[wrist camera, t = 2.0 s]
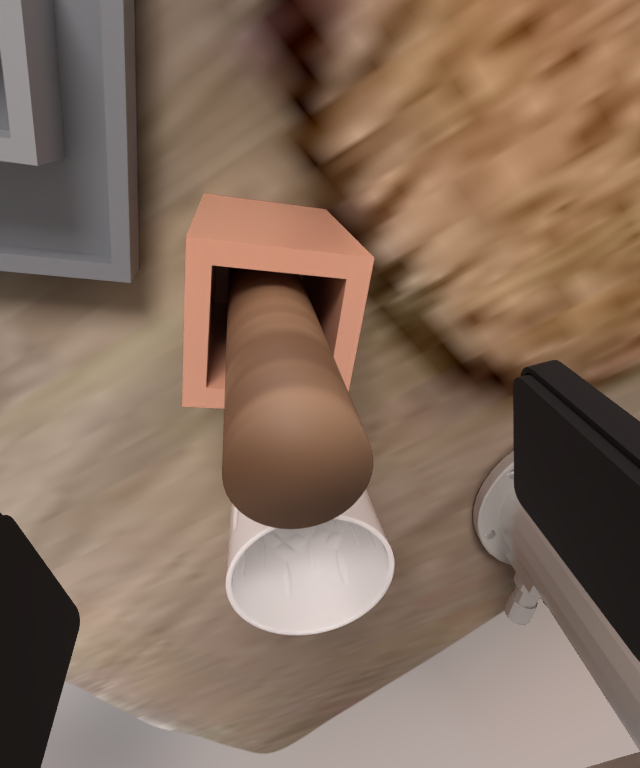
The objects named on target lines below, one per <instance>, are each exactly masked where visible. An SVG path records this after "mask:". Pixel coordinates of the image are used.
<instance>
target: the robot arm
mask: <svg viewBox="0 0 640 768" xmlns="http://www.w3.org/2000/svg"><path fill="white" fill-rule="evenodd" d="M513 410H514V450H513V451H512V452H511V453H510V454H508V455H507V456H506V457H504V458H503V459H502V460H501V461H500V463H499V464H498V465H497V466H496V467H495V468H494V469H493V470H492V471H491V472H490V474H489V475H488V477H487V478H486V480H485V481H484V482H483V484H482V486H481V488H480V490H479V492H478V495H477V497H476V501H475V505H474V509H473V523H474V527H475V531H476V534H477V535H478V537H479V539H480V541H481V543H482V544H483V546H484V547H485V549H486V550H487V551H488V552H489V554H491V555H492V556H493V557H495V558H496V559H498V560H499V561H501V562H504V563H506V564H509V565H512V567H513V568H514V570H515V571H516V573H515V575H514V582H515V585H516V587H515V589H514V590H513V591H512V592H511V594H510V597H509V599H508V601H507V603H506V605H505V612H506V615H507V616H508V617H509V618H510V619H511V620H512V621H513V622H515V623H517V624H523V625H525V624H527V623H528V622H529V621H530V619H531V617H532V615H533V613H534V611H535V609H536V607H537V601H538V599H539V598H542V600H543V603H544V604H545V605H546V606H547V607H548V608H549V610H550V611H551V613H552V615H553V616H554V618H555V619H556V621H557V622H558V624H559V625H560V627H561V629H562V630H563V632H564V633H565V635H566V636H567V638H568V640H569V641H570V643H571V644H572V646H573V647H574V649H575V650H576V652H577V654H578V655H579V657H580V658H581V660H582V661H583V663H584V664H585V666H586V667H587V669H588V670H589V672H590V674H591V675H592V677H593V678H594V680H595V681H596V683H597V684H598V686H599V688H600V689H601V691H602V692H603V694H604V696H605V697H606V699H607V700H608V702H609V703H610V705H611V706H612V708H613V710H614V711H615V713H616V714H617V716H618V717H619V719H620V720H621V722H622V724H623V725H624V727H625V728H626V730H627V731H628V733H629V735H630V736H631V738H632V739H633V741H634V742H635V744H636V745H637V747H638V748H639V750H640V421H638V420H637V419H636V418H634V417H633V416H632V415H630V414H629V413H628V412H626V411H625V410H624V409H622V408H621V407H620V406H618V405H617V404H616V403H614V402H613V401H612V400H610V399H609V398H608V397H606V396H605V395H604V394H602V393H601V392H600V391H598V390H597V389H596V388H594V387H593V386H592V385H590V384H589V383H588V382H586V381H585V380H584V379H582V378H581V377H580V376H578V375H577V374H576V373H574V372H573V371H572V370H570V369H569V368H568V367H566V366H565V365H564V364H562V363H561V362H559V361H557V360H551V361H547V362H544V363H540V364H536V365H533V366H529V367H525V368H524V369H523V370H522V372H521V377H518V378H516V379H515V380H514V385H513ZM79 626H80V617H79V612H78V609H77V607H76V606H75V604H74V603H73V602H72V600H71V599H70V597H69V596H68V595H67V593H66V592H65V590H64V589H63V588H62V586H61V585H60V583H59V582H58V581H57V579H56V578H55V576H54V575H53V574H52V572H51V571H50V569H49V568H48V567H47V565H46V564H45V562H44V561H43V560H42V558H41V557H40V555H39V554H38V553H37V551H36V550H35V549H34V547H33V546H32V544H31V543H30V542H29V540H28V539H27V537H26V536H25V535H24V533H23V532H22V530H21V529H20V528H19V526H18V525H17V523H16V522H15V521H14V519H13V518H12V517H10V516H8V515H2V514H1V513H0V768H41V764H42V760H43V757H44V753H45V750H46V746H47V742H48V739H49V735H50V731H51V728H52V724H53V721H54V717H55V714H56V710H57V706H58V703H59V699H60V695H61V692H62V688H63V685H64V681H65V678H66V674H67V670H68V667H69V663H70V660H71V656H72V652H73V649H74V645H75V642H76V638H77V634H78V631H79ZM587 768H640V752H638V753H634V754H631V755H627V756H624V757H620V758H617V759H614V760H611V761H607V762H604V763H600V764H597V765H594V766H590V767H587Z"/></svg>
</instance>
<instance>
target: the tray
mask: <svg viewBox="0 0 640 768" xmlns="http://www.w3.org/2000/svg"><path fill="white" fill-rule="evenodd" d="M0 271H7V272H18V273H29V274H39V275H50V276H61V277H72V278H83V279H93V280H104V281H115V282H126V283H131V282H132V280H133V279H134V277H135V275H136V274H137V272H138V271H139V225H138V172H137V119H136V66H135V13H134V0H0Z"/></svg>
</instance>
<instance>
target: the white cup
mask: <svg viewBox="0 0 640 768" xmlns="http://www.w3.org/2000/svg"><path fill="white" fill-rule="evenodd" d="M393 574H394V556H393V552H392V549H391V547H390V545H389V542H388V540H387V538H386V535H385V533H384V531H383V529H382V526H381V524H380V522H379V519H378V517H377V515H376V512H375V510H374V508H373V505H372V503H371V501H370V498H369V496H368V494H367V491H366V489H365V491H364V493H363V494H362V496H361V497H360V498H359V499H358V500H357V502H356V503H355V504H354V505H353V506H351V507H350V508H349V509H348V510H347V511H345V512H344V513H343V514H341V515H339V516H338V517H336V518H334V519H332V520H330V521H328V522H325V523H323V524H320V525H316V526H312V527H308V528H301V529H280V528H273V527H269V526H265V525H262V524H260V523H257V522H255V521H253V520H251V519H249V518H248V517H246V516H245V515H244V514H242V513H241V512H240V511H239V510H238V509H237V508H236V507H235V506H234V505H233V504H232V503H231V516H230V531H229V546H228V560H227V573H226V592H227V596H228V599H229V602H230V604H231V605H232V607H233V609H234V610H235V611H236V612H237V614H238V615H239V616H240V617H242V618H243V619H244V620H245V621H247V622H248V623H250V624H251V625H253V626H255V627H257V628H260V629H262V630H265V631H268V632H272V633H276V634H283V635H311V634H318V633H323V632H327V631H330V630H334V629H337V628H339V627H342V626H344V625H347V624H349V623H351V622H353V621H354V620H356V619H358V618H359V617H361V616H363V615H364V614H365V613H367V612H368V611H369V610H370V609H372V608H373V607H374V606H375V605H376V604H377V603H378V602H379V601H380V599H381V598H382V597H383V596H384V594H385V593H386V591H387V589H388V588H389V586H390V583H391V581H392V578H393Z"/></svg>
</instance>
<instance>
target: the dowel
mask: <svg viewBox="0 0 640 768" xmlns="http://www.w3.org/2000/svg"><path fill="white" fill-rule="evenodd" d="M372 470H373V454H372V449H371V446H370V443H369V441H368V438H367V436H366V434H365V431H364V429H363V426H362V424H361V422H360V419H359V417H358V414H357V412H356V410H355V407H354V405H353V402H352V400H351V398H350V395H349V393H348V390H347V388H346V386H345V383H344V381H343V378H342V376H341V374H340V371H339V369H338V366H337V364H336V362H335V359H334V357H333V354H332V352H331V350H330V347H329V345H328V342H327V340H326V338H325V335H324V333H323V330H322V328H321V326H320V323H319V321H318V318H317V316H316V314H315V311H314V309H313V306H312V304H311V302H310V299H309V297H308V294H307V292H306V290H305V287H304V285H303V282H302V280H301V278H300V275H299V274H292V273H282V272H272V271H262V270H252V269H243V268H233V267H229V281H228V311H227V341H226V371H225V401H224V431H223V462H222V479H223V485H224V488H225V491H226V494H227V496H228V497H229V499H230V501H231V502H232V504H233V505H234V506H235V507H236V508H237V509H238V510H239V511H240V512H241V513H242V514H244V515H245V516H246V517H248V518H249V519H251V520H253V521H255V522H257V523H260V524H262V525H265V526H269V527H273V528H280V529H301V528H308V527H312V526H316V525H320V524H323V523H325V522H328V521H330V520H332V519H334V518H336V517H338V516H339V515H341V514H343V513H344V512H345V511H347V510H348V509H349V508H350V507H351V506H353V505H354V504H355V503H356V502H357V500H358V499H359V498H360V497H361V496H362V494H363V493H364V491H365V489H366V488H367V486H368V483H369V481H370V478H371V475H372Z"/></svg>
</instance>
